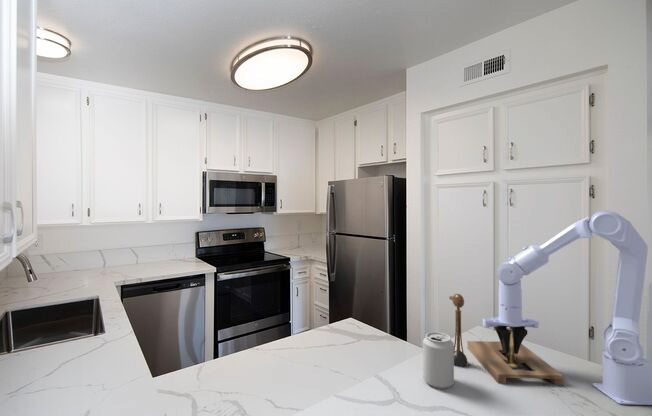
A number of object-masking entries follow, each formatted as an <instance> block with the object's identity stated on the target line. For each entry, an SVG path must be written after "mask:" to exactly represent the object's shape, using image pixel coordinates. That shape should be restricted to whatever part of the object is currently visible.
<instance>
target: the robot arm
mask: <svg viewBox="0 0 652 416" xmlns="http://www.w3.org/2000/svg"><path fill="white" fill-rule="evenodd" d="M592 233H593V234H595V235H596V236H598V237H600V238H602V239H604V240H606V241H608V242H610V244H611V245H612V246H614V247H615V248H616V249H617V250H618V251H619V253H618V262H617V263H618V264H617V272H616V278H615V289H614V297H613V307H612V313H611V315H610V316H611V317H610V322H609V324H608V325H607V327H606V328H605V329H604V331H603V336H604V339H605V348H604V349H603V350H602V382H600V383H599V382H593V383H592V386H593V387H595V388H596V389H598V390H599V391H601V392H602V393H604V394H605V395H606V396H607V397H609V398H610V399H612V400H613V401H615V403H617V404H619V405H637V406H639V405H641V406H644V405H645V406H652V362H651V361H650V360H649V359H647V358H645V357H644V349H643V346H642V344H641V343H640V337H641V336H640V334H641V333H640V315H641V307H642V301H643V299H642V298H643V291H644V283H645V275H646V266H647V259H648V251H649V248H648V247H649V246H648V244H647V243H646V241H645V240H644V239H643V237H642V236H641V235H640V233H639V232H638V231H637V229H636V228H635V227H634V226H633V224H632V223H631V221H629V220H628V219H627V218H625V217H624V216H622V215H620V214H619V213H617V212H616V211H611V210H598V211H596V212H594V213H592V215H591V216H590V217H589V216H587V217H584V218H582V219H580V220H578V221H576V222H574V223H572V224H571V225H569V226H567V227H566V228H565V229H563V230H561V231H560V232H559V233H557V234H556V235H554V236H552V237H551V238H549V240H547V241H546V242H544V243H543V244H541V245H534V244H532V245H530V246H528V245H526V246H524V247H523V248H522V251H520V252H519V253H517V254H516V255H515V256H513V257H512V256H510V257H509V258H507V260H508V261H505V262H504V263H502V264H501V265H500V266H499V267H498V268H497V270H496V276H497V278H498V316H496V317H488V318H487V317H486V318H482V326H483V327H484V328H486V329H487V328H488V329H489V328H494V330H495V332H496V334H497V336H498V339H499V342H501V346H502V350H503V352H505V353H504V354H505V355H506V354H509V339H510V334H511V332H509V331H508V329H507V328H511V329H514V344H515V354H518V352H519V348H520V345H521V344H523V341H524V339H525V338H526V336H527V335H528V330H527V329H526V328H533V329H539V321H538V320H537V319H534V318H524V317H523V307H522V306H523V304H522V303H523V299H522V298H523V290H522V280H521V279H522V278H523V276H528V275H530V274H532V273H533V272H535V271H536V270H538V269H540V268H541V267H543V266H545V265H547V264H548V263H549V257H550V255H552V254H554V253H557V251H559V250H560V249H562V248H564V247H566V246H568V245H570V244H571V243H573V242H575V241H576V240H579V239H588V238H589V239H591V238H593V234H592Z"/></svg>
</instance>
